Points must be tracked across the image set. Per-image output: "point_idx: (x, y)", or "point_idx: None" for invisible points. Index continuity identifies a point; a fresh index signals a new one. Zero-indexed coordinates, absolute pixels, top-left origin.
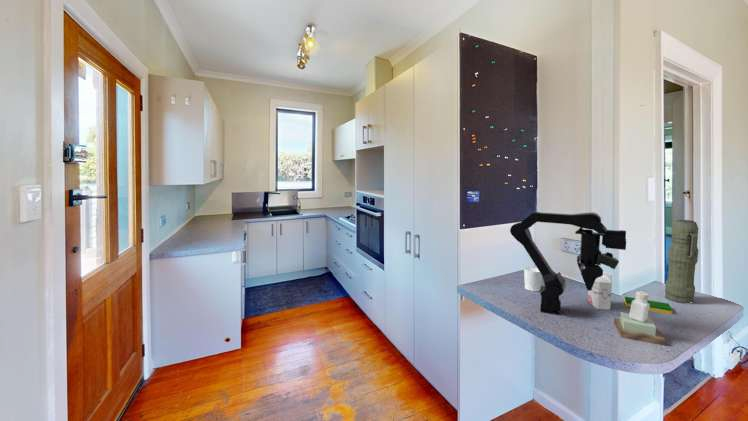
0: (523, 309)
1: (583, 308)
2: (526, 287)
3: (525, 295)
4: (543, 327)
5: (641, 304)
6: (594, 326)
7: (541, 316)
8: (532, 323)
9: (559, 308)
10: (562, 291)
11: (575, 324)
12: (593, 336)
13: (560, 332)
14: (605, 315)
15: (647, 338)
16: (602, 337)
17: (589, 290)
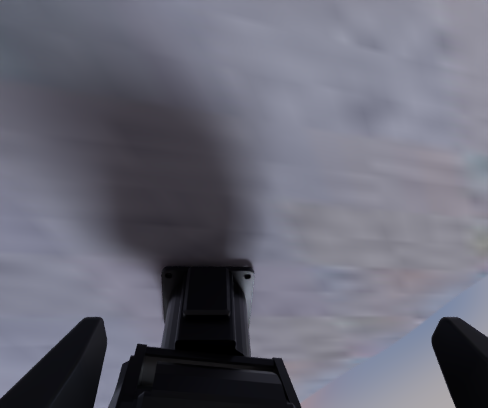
0: None
1: (57, 137)
2: None
3: None
4: (412, 316)
5: None
6: (341, 118)
7: (299, 323)
8: (383, 345)
9: (229, 284)
10: (283, 397)
11: (344, 207)
12: (471, 145)
13: (448, 268)
14: (107, 3)
15: None
16: (478, 102)
17: (450, 327)
